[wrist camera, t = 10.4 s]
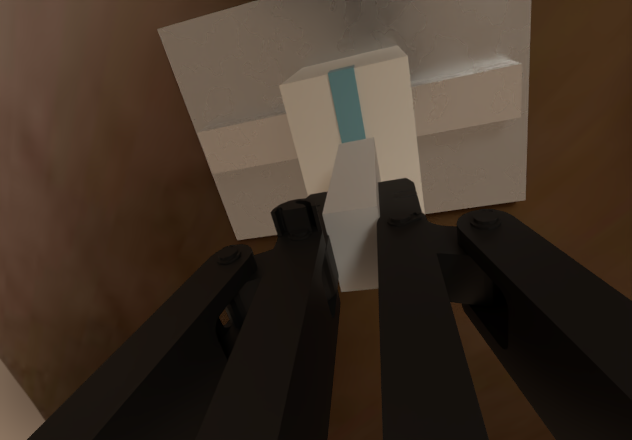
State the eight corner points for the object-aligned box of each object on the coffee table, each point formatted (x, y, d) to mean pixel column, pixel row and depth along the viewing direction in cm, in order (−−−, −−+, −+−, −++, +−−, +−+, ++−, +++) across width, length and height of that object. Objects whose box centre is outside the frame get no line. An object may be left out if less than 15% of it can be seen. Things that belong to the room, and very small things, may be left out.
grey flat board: (164, 28, 25) (142, 30, 22) (526, -76, 20) (548, -88, 17) (240, 234, 32) (230, 252, 29) (520, 194, 27) (535, 211, 24)
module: (302, 67, 24) (278, 84, 17) (397, 44, 22) (407, 54, 16) (328, 182, 27) (316, 231, 21) (412, 168, 26) (425, 216, 20)
